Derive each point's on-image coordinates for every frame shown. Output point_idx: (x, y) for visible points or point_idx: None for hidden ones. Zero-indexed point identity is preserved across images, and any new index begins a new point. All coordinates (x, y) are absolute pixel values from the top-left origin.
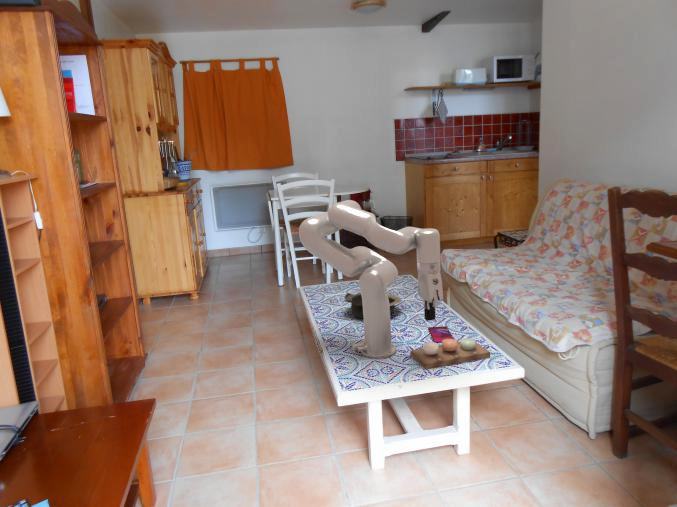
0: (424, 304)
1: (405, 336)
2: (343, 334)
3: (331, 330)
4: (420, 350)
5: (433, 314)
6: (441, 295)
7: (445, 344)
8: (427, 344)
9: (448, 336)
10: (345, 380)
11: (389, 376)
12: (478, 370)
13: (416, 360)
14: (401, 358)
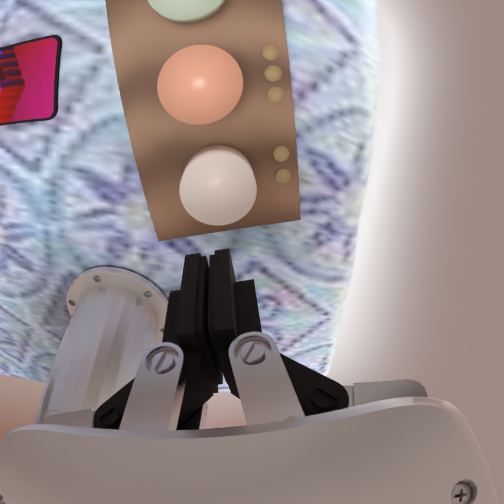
0: (191, 420)
1: (5, 215)
2: (25, 351)
3: (13, 363)
4: (163, 204)
5: (256, 302)
6: (483, 480)
7: (226, 114)
8: (209, 204)
9: (17, 57)
10: None
11: (296, 308)
12: (364, 31)
13: None
14: (178, 260)
